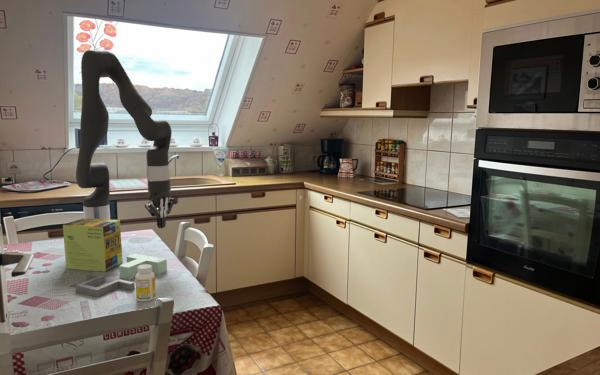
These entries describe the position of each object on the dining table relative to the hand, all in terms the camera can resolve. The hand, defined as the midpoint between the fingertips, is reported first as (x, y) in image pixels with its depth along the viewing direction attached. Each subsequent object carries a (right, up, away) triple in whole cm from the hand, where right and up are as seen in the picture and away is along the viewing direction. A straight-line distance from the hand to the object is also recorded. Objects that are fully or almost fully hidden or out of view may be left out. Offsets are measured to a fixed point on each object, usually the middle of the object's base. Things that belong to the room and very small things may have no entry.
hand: (161, 227), depth 169 cm
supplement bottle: (+4, -18, -29) cm, 35 cm away
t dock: (-12, -17, -22) cm, 30 cm away
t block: (-5, -14, -8) cm, 17 cm away
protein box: (-23, -13, -1) cm, 26 cm away
